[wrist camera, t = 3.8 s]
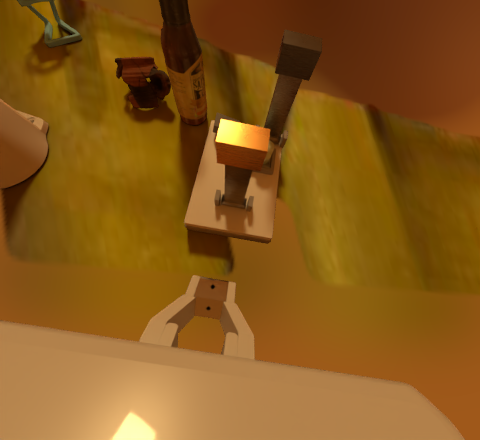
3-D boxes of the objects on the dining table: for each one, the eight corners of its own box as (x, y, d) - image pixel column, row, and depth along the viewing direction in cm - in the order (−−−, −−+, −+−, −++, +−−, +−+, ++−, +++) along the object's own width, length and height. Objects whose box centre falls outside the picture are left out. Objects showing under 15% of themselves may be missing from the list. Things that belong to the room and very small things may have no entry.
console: (187, 229, 31) (178, 219, 25) (212, 134, 38) (210, 108, 32) (267, 243, 32) (277, 236, 26) (278, 147, 39) (288, 124, 33)
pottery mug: (120, 109, 38) (98, 58, 33) (147, 101, 45) (133, 58, 39) (165, 110, 36) (150, 55, 30) (188, 102, 42) (179, 55, 37)
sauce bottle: (205, 129, 38) (187, -11, 19) (176, 124, 38) (130, -23, 19) (210, 107, 40) (198, -39, 21) (183, 102, 40) (147, -51, 21)
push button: (252, 163, 31) (255, 151, 28) (254, 150, 32) (257, 137, 29) (268, 166, 31) (273, 155, 28) (270, 153, 32) (275, 140, 29)
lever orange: (219, 207, 29) (215, 141, 14) (222, 194, 30) (221, 119, 15) (245, 212, 29) (267, 151, 14) (247, 199, 30) (270, 129, 15)
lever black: (256, 143, 33) (282, 43, 19) (258, 133, 34) (284, 29, 19) (278, 147, 34) (321, 51, 19) (279, 138, 34) (322, 38, 20)
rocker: (212, 131, 32) (213, 125, 31) (216, 119, 33) (217, 112, 31) (235, 139, 33) (237, 133, 31) (237, 127, 34) (239, 121, 32)
